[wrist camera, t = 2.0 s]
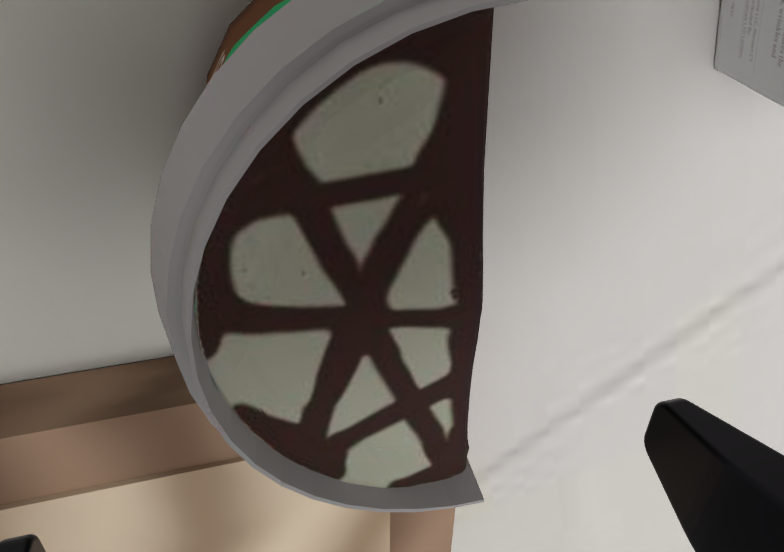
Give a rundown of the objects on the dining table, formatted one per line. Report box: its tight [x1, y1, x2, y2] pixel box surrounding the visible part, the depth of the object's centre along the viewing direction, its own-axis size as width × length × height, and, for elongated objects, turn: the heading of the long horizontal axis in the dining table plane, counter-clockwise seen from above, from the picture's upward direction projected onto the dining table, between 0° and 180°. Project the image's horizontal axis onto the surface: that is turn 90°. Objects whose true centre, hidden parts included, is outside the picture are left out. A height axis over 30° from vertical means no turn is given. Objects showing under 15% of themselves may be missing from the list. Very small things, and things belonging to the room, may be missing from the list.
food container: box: [151, 0, 527, 512], centre depth 15 cm, size 12×6×10 cm, turn 3°
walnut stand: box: [0, 356, 455, 552], centre depth 26 cm, size 22×16×3 cm
